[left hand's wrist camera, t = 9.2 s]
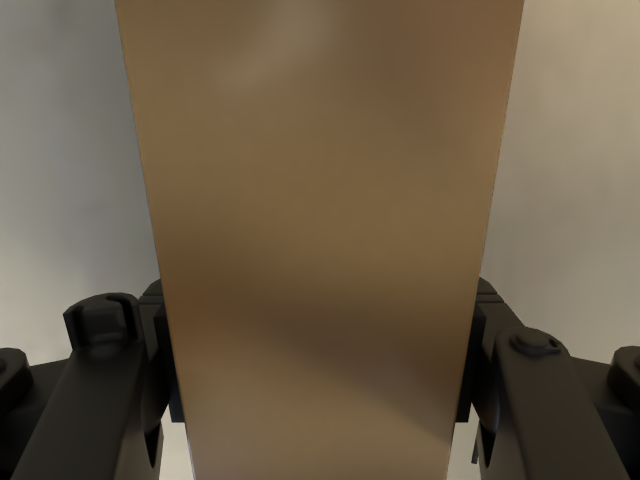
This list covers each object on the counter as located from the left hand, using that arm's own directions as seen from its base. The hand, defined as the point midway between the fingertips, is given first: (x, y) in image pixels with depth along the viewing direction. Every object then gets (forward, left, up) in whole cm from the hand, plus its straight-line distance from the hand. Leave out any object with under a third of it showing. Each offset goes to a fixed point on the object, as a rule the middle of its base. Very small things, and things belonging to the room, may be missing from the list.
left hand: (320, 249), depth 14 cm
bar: (+13, -14, -1) cm, 19 cm away
